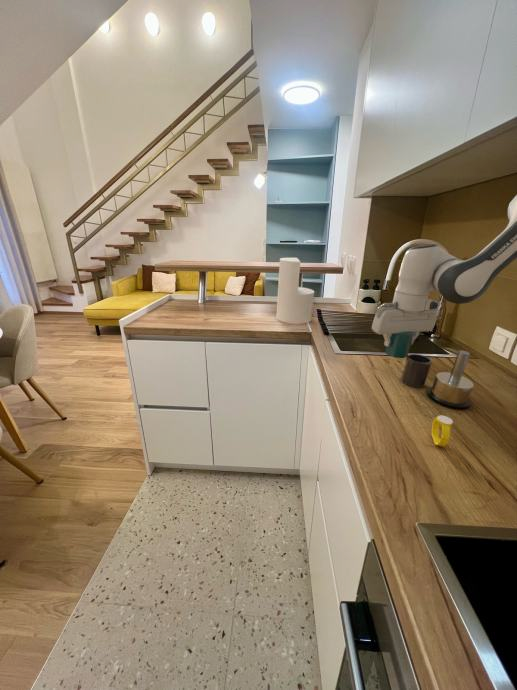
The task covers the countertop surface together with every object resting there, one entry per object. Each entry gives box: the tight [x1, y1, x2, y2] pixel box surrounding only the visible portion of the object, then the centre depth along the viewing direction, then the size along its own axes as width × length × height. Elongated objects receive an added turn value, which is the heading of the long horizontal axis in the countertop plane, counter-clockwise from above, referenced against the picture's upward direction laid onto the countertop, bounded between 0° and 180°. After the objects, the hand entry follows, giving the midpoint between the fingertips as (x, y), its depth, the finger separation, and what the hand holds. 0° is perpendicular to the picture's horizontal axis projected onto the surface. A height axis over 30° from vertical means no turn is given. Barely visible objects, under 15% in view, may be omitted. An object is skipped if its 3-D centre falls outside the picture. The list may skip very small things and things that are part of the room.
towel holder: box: [426, 349, 475, 411], centre depth 73 cm, size 10×10×14 cm
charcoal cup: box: [400, 353, 433, 389], centre depth 82 cm, size 6×6×8 cm
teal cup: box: [384, 332, 413, 359], centre depth 88 cm, size 6×6×8 cm
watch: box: [431, 414, 454, 447], centre depth 59 cm, size 6×3×6 cm, turn 163°
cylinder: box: [275, 257, 315, 325], centre depth 133 cm, size 17×17×28 cm
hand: (398, 344), depth 88 cm, fingers closed on teal cup, 6 cm apart
